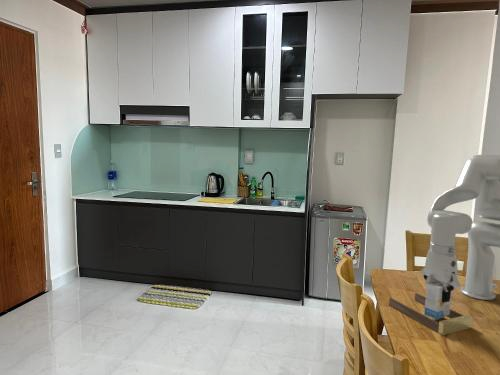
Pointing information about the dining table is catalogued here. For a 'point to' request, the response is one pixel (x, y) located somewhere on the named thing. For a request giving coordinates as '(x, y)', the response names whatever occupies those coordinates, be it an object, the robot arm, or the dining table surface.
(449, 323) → the slide guide
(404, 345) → the dining table surface
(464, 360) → the dining table surface
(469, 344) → the dining table surface
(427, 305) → the ink box
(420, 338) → the dining table surface
